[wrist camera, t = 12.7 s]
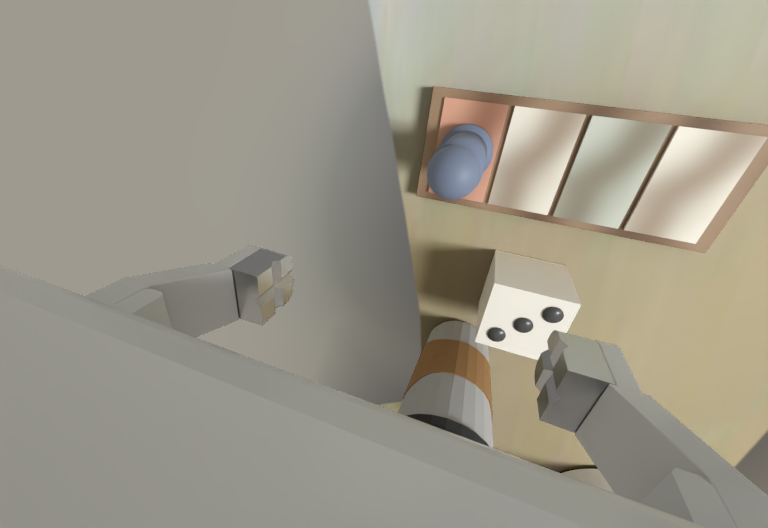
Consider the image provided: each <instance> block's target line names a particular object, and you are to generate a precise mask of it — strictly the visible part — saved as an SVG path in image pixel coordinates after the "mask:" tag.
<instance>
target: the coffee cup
mask: <svg viewBox="0 0 768 528" xmlns="http://www.w3.org/2000/svg"><path fill="white" fill-rule="evenodd" d="M475 335H476V327H474V326H472V325H471V324H468V323H466V322H463V321H456V320H455V321H447V322H444V323H441V324H440V325H438V326H437V327H435V328H434V329H433V330H432V331H431V333H430V335H429V338H428V340H427V342H426V345H425V346H424V348H423V350H422V352H421V355H420V357H419V360H418V363H417V365H416V367H415V370H414V372H413V374H412V377H411V379H410V382H409V384H408V387H407V389H406V392H405V394H404V397H403V402H402V404H401V407H400V409H399V412H398V413H400V414H403V415H405V416H408V417H411V418H413V419H416V420H419V421H421V422H424V423H427V424H429V425H432V426H435V427H438V428H440V429H443V430H446V431H448V432H451V433H454V434H456V435H459V436H462V437H464V438H467V439H470V440H472V441H475V442H478V443H481V444H483V445H486V446H489V447H491V448H493V437H492V395H491V377H490V366H489V354H488V345H484V344H481V343H477V342H475Z"/></svg>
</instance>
